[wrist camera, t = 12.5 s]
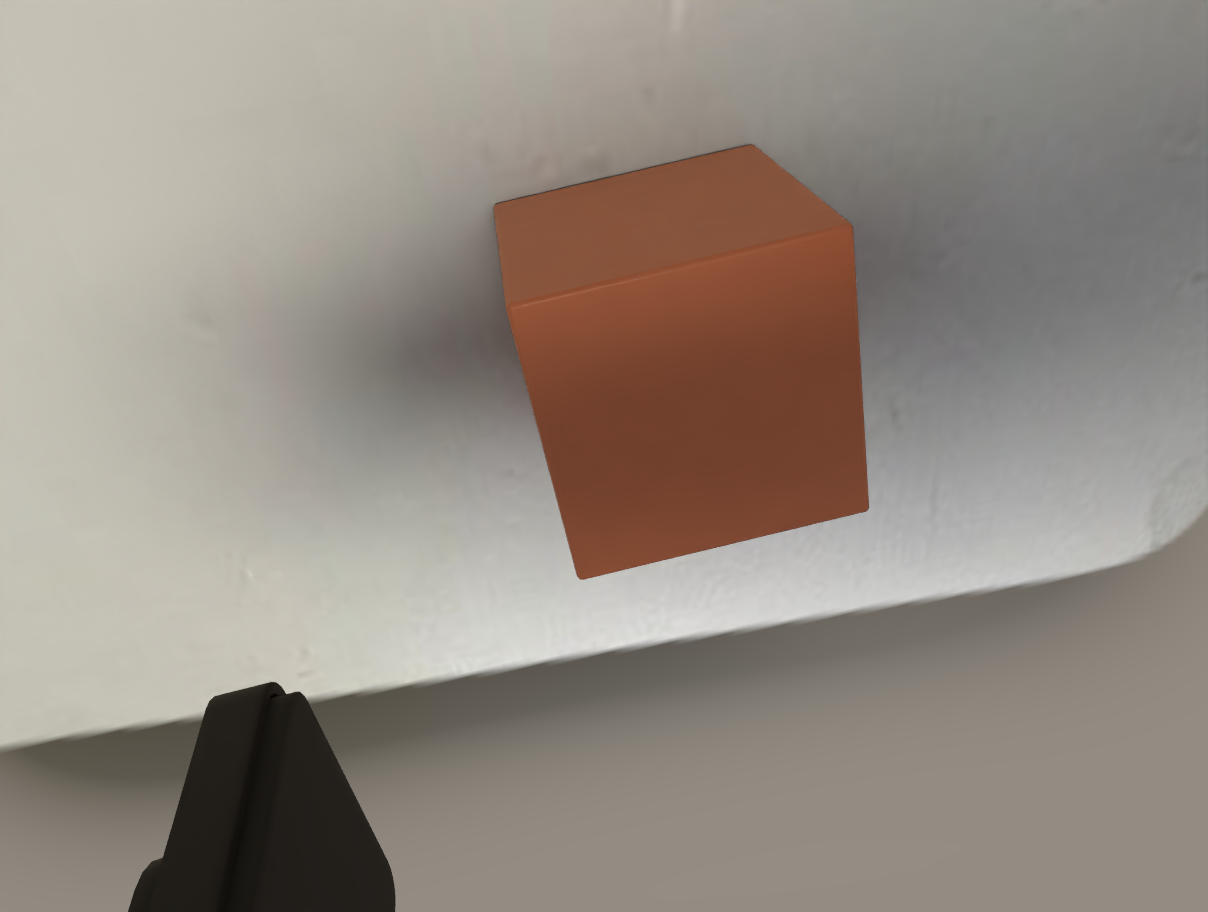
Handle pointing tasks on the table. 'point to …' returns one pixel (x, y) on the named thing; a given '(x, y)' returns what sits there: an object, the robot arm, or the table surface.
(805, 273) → the block
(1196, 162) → the table surface
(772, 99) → the table surface
